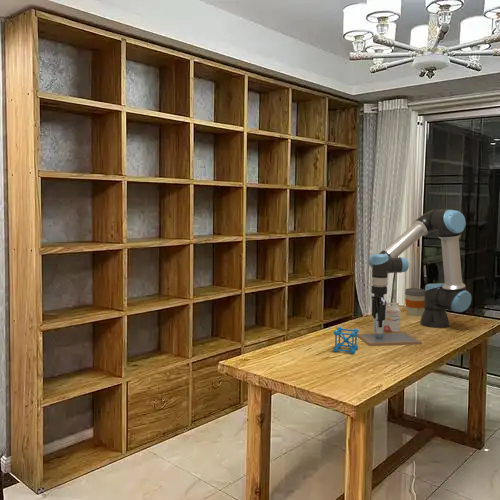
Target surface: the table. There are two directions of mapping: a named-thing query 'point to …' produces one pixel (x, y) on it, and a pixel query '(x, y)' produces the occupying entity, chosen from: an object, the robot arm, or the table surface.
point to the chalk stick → (376, 329)
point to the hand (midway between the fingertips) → (377, 332)
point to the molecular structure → (346, 340)
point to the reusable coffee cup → (415, 301)
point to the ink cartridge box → (392, 317)
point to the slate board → (389, 339)
